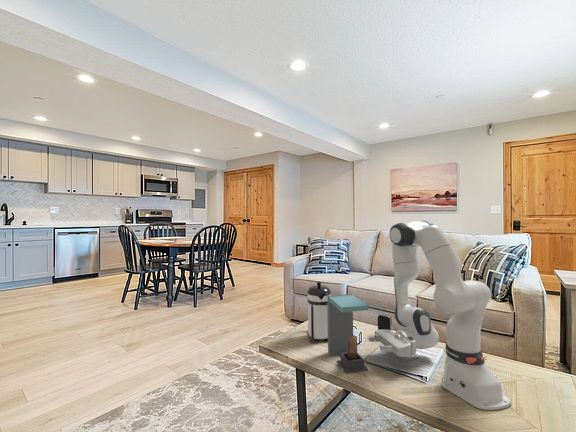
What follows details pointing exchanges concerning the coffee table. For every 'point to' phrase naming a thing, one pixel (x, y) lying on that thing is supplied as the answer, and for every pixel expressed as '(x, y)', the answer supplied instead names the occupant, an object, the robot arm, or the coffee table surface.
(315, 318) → the coffee press
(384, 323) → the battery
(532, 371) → the coffee table surface
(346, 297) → the teal capped pillar
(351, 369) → the socket
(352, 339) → the peg
